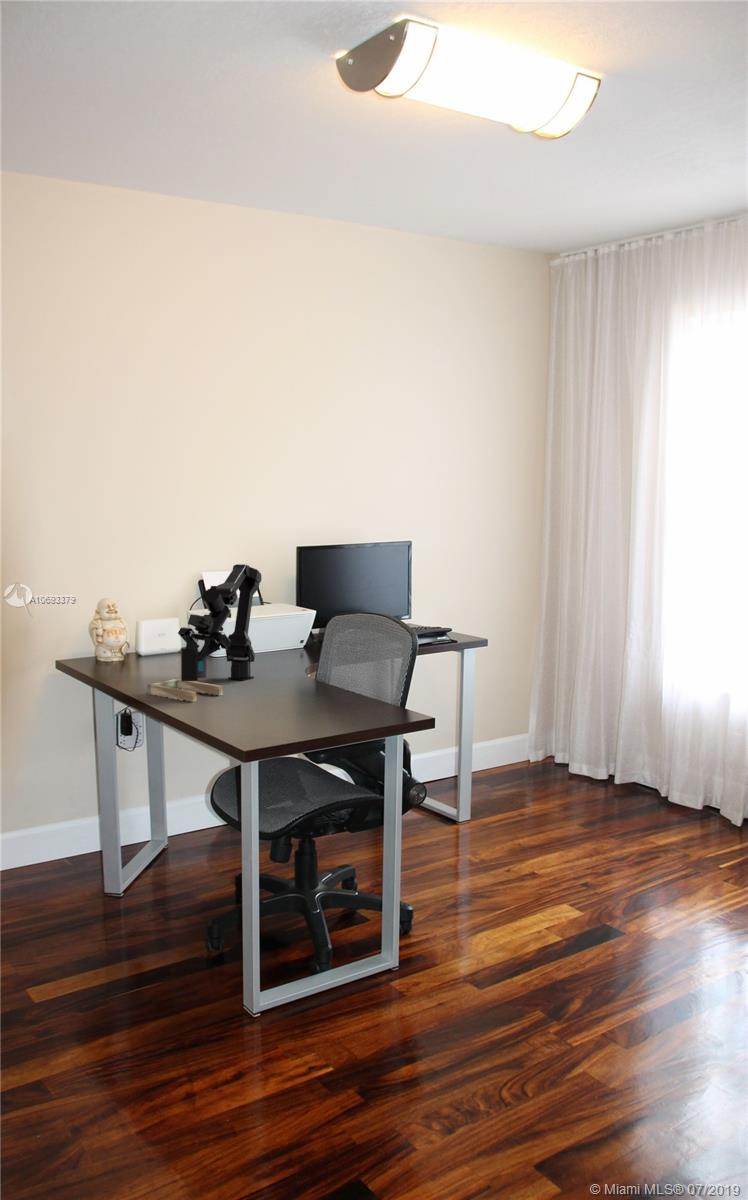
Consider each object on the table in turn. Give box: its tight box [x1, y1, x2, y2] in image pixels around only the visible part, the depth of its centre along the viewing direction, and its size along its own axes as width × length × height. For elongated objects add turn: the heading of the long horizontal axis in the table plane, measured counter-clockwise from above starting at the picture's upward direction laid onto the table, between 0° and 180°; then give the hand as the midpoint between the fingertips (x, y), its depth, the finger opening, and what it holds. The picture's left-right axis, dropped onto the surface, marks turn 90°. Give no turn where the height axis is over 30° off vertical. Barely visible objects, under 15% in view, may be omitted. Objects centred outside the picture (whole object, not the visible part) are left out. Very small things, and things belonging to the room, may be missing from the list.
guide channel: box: [146, 678, 224, 703], centre depth 311 cm, size 13×20×3 cm, turn 55°
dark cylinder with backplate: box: [180, 647, 207, 682], centre depth 308 cm, size 8×6×10 cm
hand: (191, 659), depth 307 cm, fingers closed on dark cylinder with backplate, 5 cm apart
